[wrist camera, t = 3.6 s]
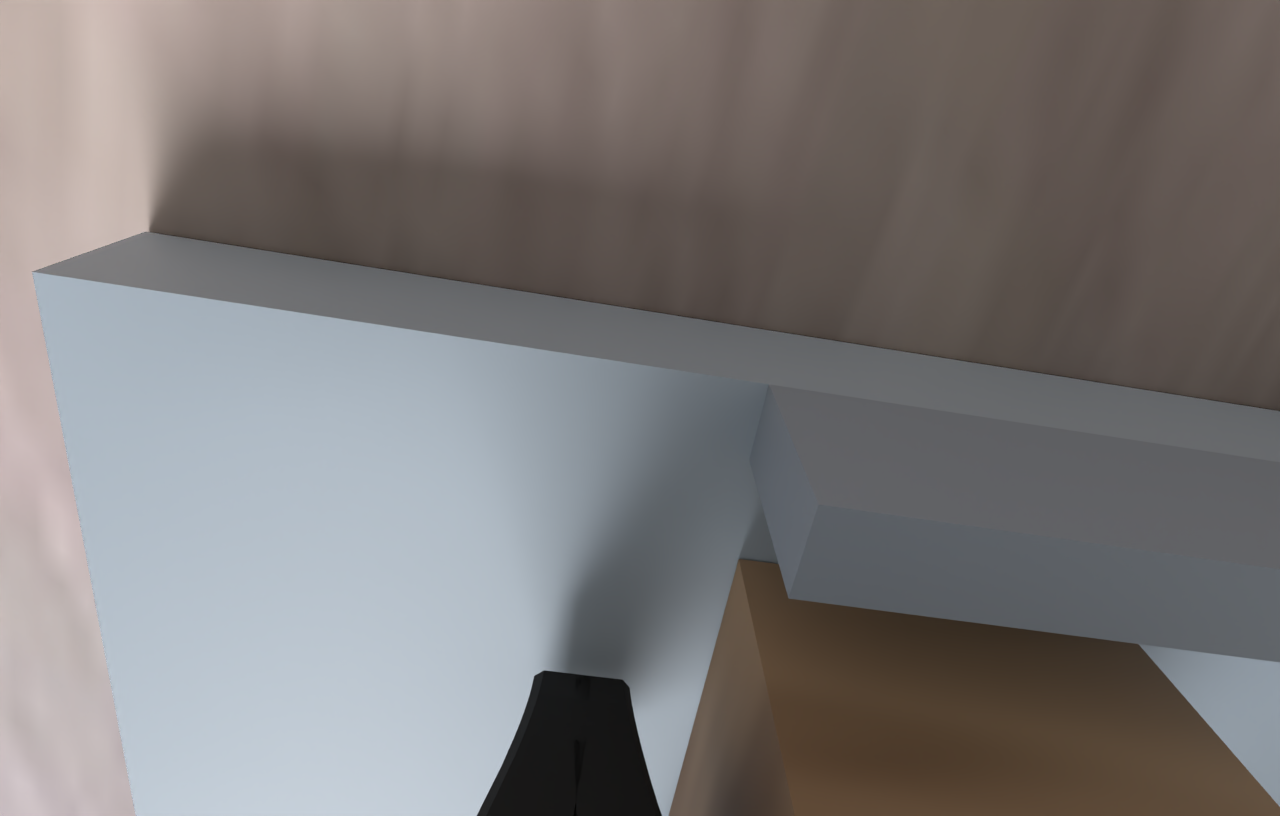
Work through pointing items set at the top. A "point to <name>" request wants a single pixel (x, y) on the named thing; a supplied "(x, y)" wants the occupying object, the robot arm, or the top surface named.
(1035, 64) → the top surface
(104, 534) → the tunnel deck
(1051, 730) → the block
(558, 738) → the robot arm
